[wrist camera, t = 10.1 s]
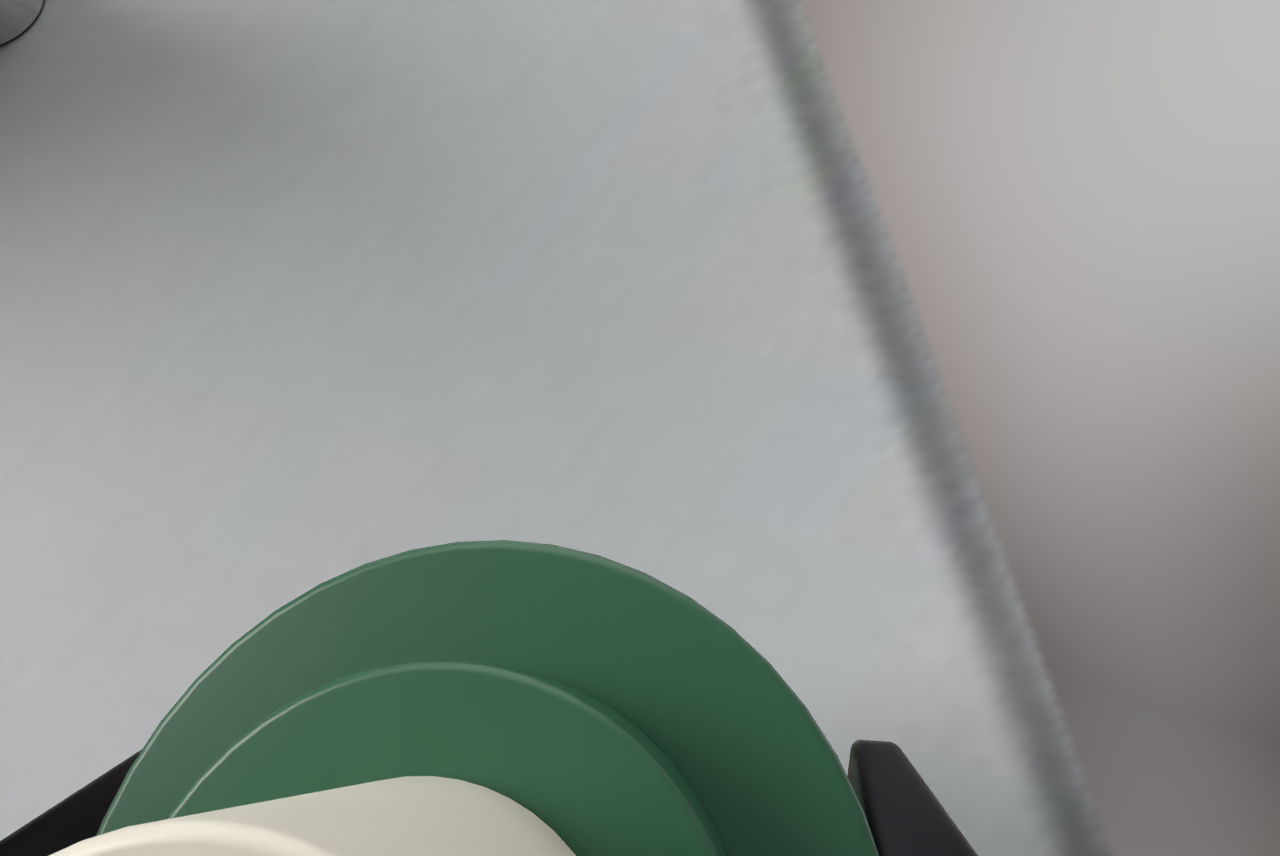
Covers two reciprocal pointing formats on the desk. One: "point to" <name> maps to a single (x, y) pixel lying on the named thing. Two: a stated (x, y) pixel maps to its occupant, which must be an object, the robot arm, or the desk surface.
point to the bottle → (487, 726)
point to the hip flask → (17, 17)
